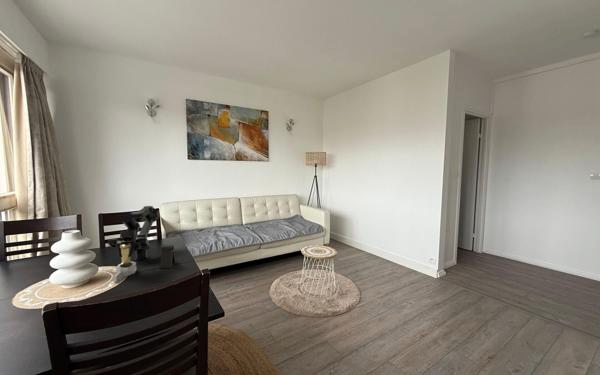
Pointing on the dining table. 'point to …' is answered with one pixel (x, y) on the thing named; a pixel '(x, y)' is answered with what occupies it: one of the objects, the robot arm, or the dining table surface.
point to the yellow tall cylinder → (125, 255)
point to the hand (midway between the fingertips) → (124, 257)
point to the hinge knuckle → (124, 271)
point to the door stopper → (167, 257)
